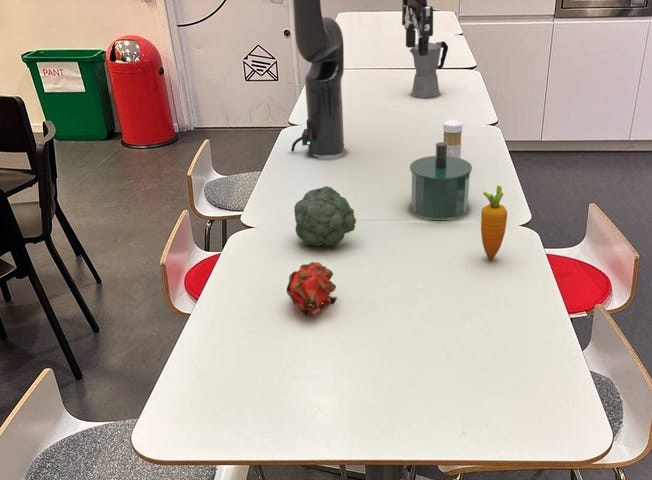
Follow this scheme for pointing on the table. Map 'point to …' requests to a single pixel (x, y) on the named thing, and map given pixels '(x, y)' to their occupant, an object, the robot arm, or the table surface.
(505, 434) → the table surface
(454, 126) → the sprinkles bottle
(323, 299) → the dragon fruit
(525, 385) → the table surface
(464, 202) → the pot
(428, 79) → the coffeepot
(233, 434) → the table surface
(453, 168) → the lid
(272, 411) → the table surface
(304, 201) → the vegetable
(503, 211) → the carrot
